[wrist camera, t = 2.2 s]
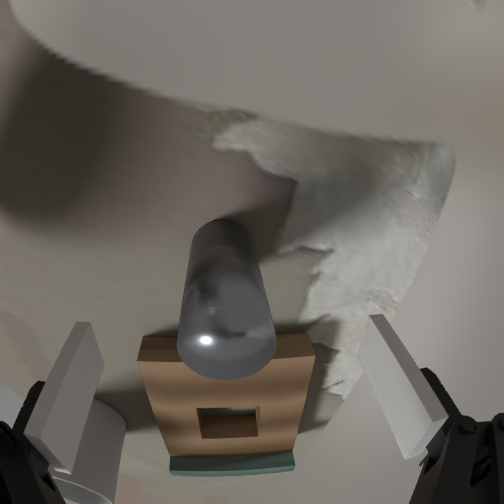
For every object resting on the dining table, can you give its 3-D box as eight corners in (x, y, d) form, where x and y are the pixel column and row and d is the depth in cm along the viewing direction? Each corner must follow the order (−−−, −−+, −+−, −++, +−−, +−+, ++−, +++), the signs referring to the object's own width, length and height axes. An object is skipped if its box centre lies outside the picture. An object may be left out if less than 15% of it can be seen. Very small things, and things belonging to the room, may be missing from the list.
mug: (124, 403, 29) (108, 491, 19) (128, 440, 33) (118, 513, 23) (28, 378, 27) (-4, 453, 17) (44, 418, 30) (23, 484, 21)
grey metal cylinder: (189, 220, 21) (170, 308, 12) (254, 218, 22) (280, 305, 13) (193, 276, 23) (182, 380, 14) (253, 275, 24) (273, 377, 15)
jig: (143, 336, 25) (132, 379, 21) (307, 331, 27) (322, 373, 22) (173, 441, 33) (171, 475, 29) (286, 437, 34) (293, 470, 30)
